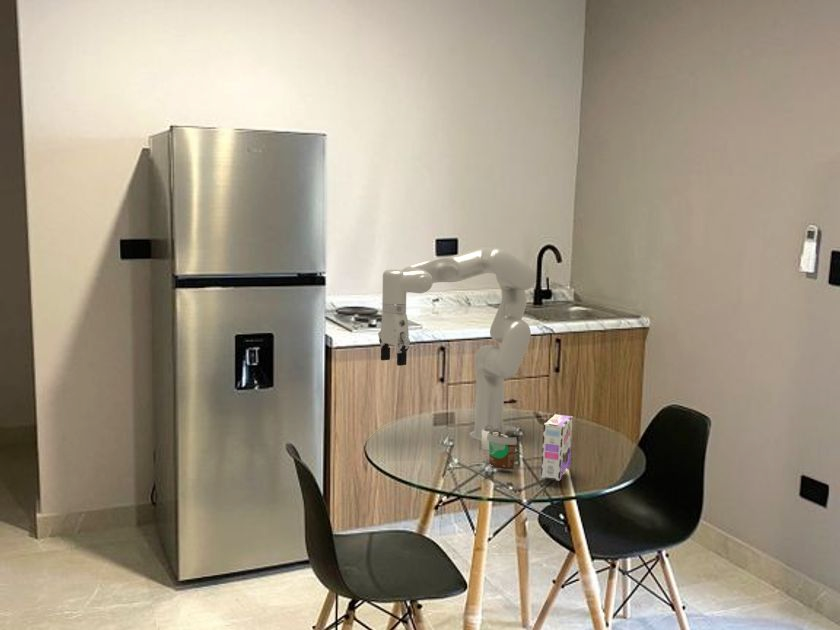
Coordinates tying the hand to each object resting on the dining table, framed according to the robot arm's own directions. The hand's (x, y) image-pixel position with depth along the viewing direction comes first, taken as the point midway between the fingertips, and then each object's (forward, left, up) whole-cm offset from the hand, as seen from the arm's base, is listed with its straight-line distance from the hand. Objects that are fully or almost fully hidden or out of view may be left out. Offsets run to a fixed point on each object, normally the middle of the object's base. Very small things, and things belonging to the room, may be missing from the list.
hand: (393, 362), depth 271 cm
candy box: (-43, +32, -28) cm, 61 cm away
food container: (-28, +22, -28) cm, 46 cm away
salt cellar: (-31, +4, -28) cm, 42 cm away
